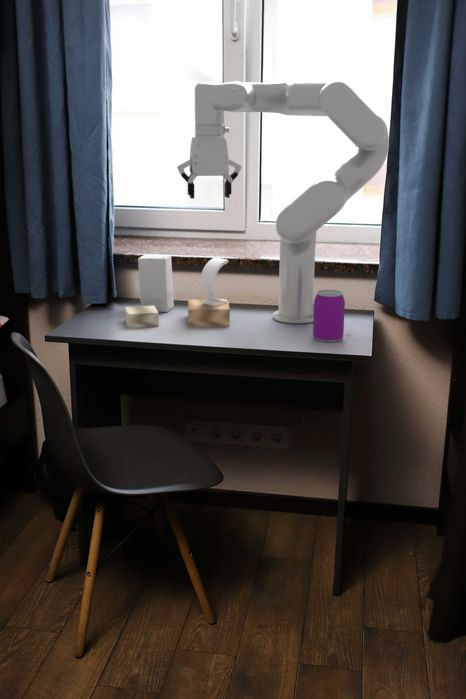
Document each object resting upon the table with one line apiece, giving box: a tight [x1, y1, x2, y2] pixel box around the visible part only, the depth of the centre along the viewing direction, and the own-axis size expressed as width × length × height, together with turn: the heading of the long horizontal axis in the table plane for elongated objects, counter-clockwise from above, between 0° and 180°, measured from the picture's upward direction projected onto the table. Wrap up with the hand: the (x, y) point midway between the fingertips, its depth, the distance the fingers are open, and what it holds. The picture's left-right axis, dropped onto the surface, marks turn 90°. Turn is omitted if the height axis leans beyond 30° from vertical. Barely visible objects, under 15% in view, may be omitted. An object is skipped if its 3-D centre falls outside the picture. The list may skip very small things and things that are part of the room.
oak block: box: [187, 299, 231, 327], centre depth 217 cm, size 11×11×5 cm
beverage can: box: [312, 289, 346, 343], centre depth 200 cm, size 8×8×12 cm
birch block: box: [124, 305, 160, 329], centre depth 215 cm, size 8×8×4 cm
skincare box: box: [137, 253, 175, 313], centre depth 228 cm, size 8×7×16 cm
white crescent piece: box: [199, 257, 229, 306], centre depth 215 cm, size 5×6×12 cm
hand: (209, 197), depth 216 cm, fingers open, 9 cm apart
